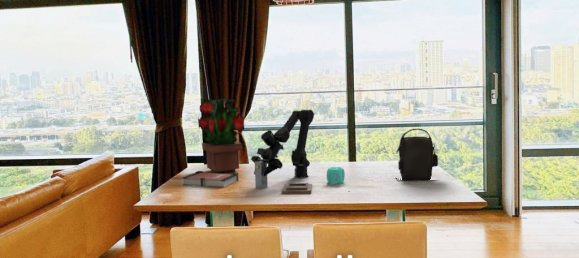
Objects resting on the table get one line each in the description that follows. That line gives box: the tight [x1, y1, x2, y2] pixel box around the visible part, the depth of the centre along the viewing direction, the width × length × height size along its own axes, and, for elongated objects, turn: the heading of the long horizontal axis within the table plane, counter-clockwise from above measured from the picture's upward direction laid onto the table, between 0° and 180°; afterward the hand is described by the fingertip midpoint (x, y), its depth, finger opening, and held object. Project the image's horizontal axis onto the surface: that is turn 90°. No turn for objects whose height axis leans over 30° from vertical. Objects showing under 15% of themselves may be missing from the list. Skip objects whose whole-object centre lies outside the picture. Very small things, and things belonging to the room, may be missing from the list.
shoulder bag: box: [395, 128, 439, 182], centre depth 259 cm, size 23×9×28 cm, turn 87°
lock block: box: [254, 161, 268, 190], centre depth 250 cm, size 5×4×14 cm
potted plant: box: [197, 98, 245, 174], centre depth 296 cm, size 22×22×45 cm
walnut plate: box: [281, 182, 313, 195], centre depth 243 cm, size 14×14×2 cm
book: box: [181, 170, 239, 188], centre depth 266 cm, size 26×18×5 cm
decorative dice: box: [326, 166, 346, 185], centre depth 257 cm, size 8×8×8 cm
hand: (259, 175), depth 249 cm, fingers open, 7 cm apart
